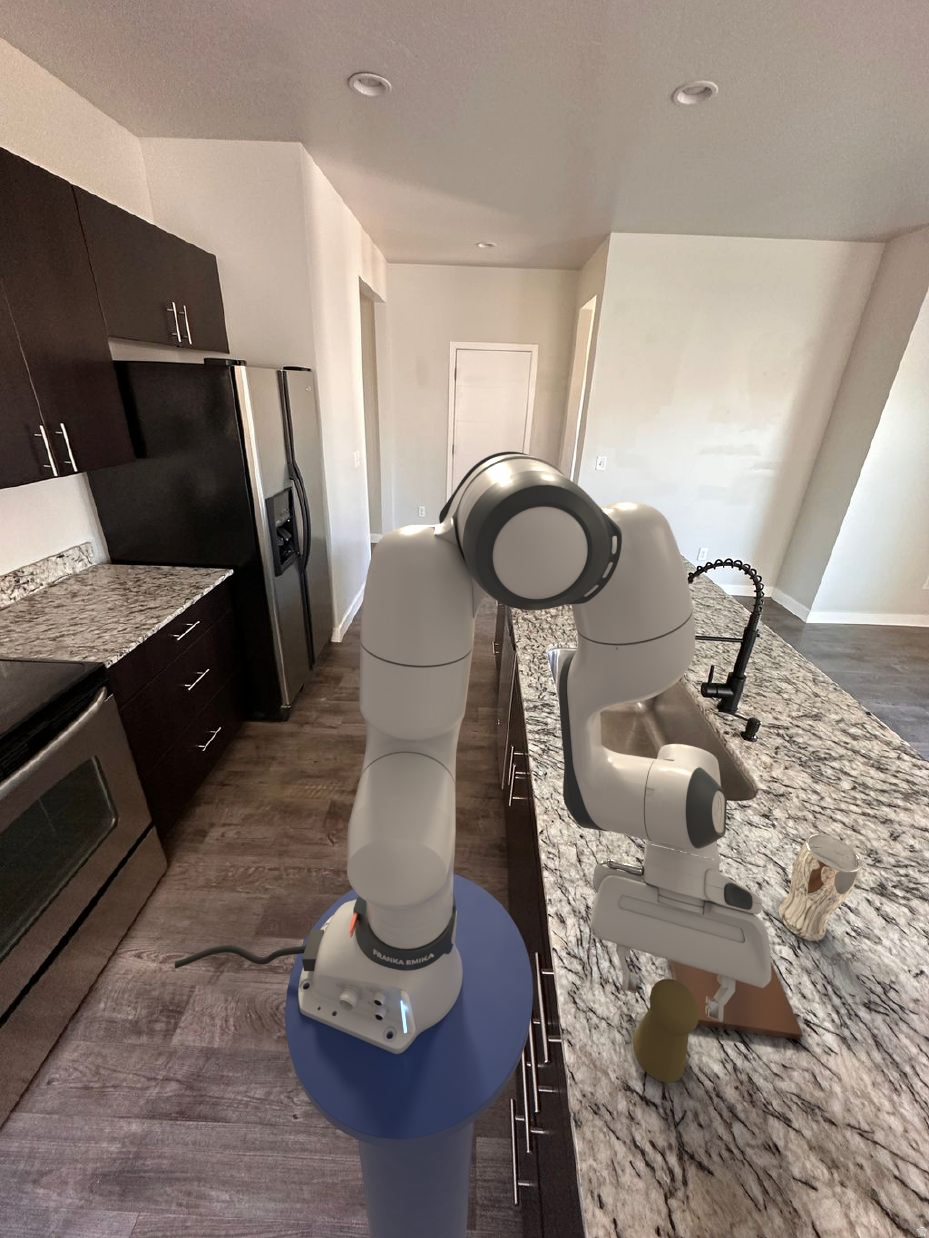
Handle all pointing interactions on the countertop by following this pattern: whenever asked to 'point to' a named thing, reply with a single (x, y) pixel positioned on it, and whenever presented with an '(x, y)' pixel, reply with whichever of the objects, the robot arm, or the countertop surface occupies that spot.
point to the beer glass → (818, 885)
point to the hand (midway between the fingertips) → (670, 1004)
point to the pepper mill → (666, 1031)
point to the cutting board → (742, 1003)
